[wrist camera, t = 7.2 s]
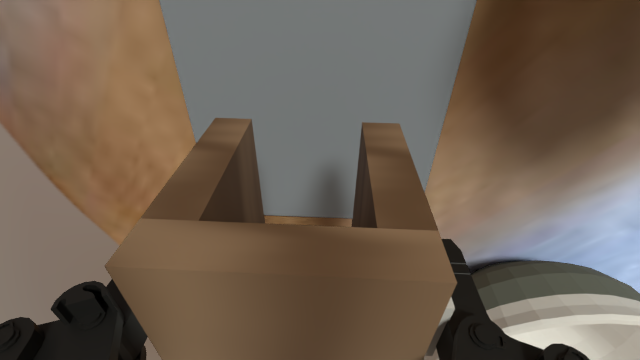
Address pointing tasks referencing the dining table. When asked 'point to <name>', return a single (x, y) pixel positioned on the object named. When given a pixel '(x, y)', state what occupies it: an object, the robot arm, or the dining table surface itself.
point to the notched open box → (285, 261)
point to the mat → (318, 84)
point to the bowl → (561, 307)
